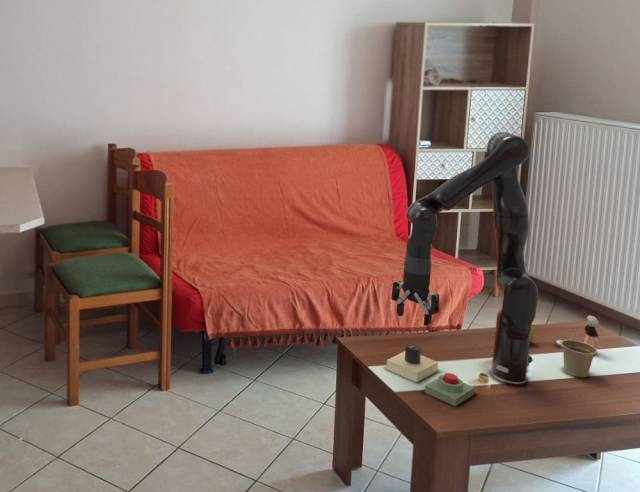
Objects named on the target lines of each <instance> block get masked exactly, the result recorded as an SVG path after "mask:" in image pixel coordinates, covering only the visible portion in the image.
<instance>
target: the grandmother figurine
mask: <svg viewBox="0 0 640 492" xmlns="http://www.w3.org/2000/svg"><path fill="white" fill-rule="evenodd" d="M586 319H587V320H586V325H585V327H584V330H583V334H585V337H584V342H583V343H586V344H589V345H591V346H593V347H594V348H595V343H599V341H600V340H599V337H600V335H599V334H598V331H597V329H596V326H597V325H599V324H600V322H599V320H598V318H597V317H595V316H593V315H588V316H587V317H586Z"/></svg>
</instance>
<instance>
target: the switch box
mask: <svg viewBox="0 0 640 492" xmlns="http://www.w3.org/2000/svg"><path fill="white" fill-rule="evenodd" d="M475 388H476V387H475V386H473V385H470V384H467V383H465V382H463V380H461V379H460V378H458V381H457V384H449V383H446V382H444V374H441V375H439V376H438V377H437V378H436V379H434V380H433V381H431V382H429V383H427V384H426V385H425V386H424V393H425V394H427V395H429V396H431V397H434V398H436V399H438V400H440V401H443V402H445V403H447V404H448V405H451V406H453V407H457V406H458V405H460V404H462V403H463V402H465V401H466V400H468V399H469V398H471V397H473V396H474V395H475V391H476V390H475Z"/></svg>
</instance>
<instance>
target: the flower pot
mask: <svg viewBox="0 0 640 492" xmlns="http://www.w3.org/2000/svg"><path fill="white" fill-rule="evenodd" d="M560 345H561V349H562V352H563V354H562V355H563V370H564V372H565V373H567V374H568V375H570V376H573V377H579V378H587V377H588V376H589V373H590V369H591V366H592V362H593V359H594V358H595V356H596V354H597V353H598V350H597V348H596V347H595V346H594V347H593V346H591V345H589V344H586V343H584V342H583V341H579V340H575V339H564V340H561V342H560Z"/></svg>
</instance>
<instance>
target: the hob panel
mask: <svg viewBox="0 0 640 492" xmlns="http://www.w3.org/2000/svg"><path fill="white" fill-rule="evenodd" d="M438 365H439V362H438V361H437V360H435V359H432V358H429V357H426V356H424V355H422V354H421V357H420V363H419V364H411V363H408V362H406V361H405V350H404V351H402V352H400V353H398V354H396V355H394V356H392V357H390V358H388V359H387V360H386V368H385V369H386V370H387V371H390V372H393V373H395V374H396V375H398V376H401V377H403V378H405V379H408V380H410V381H413V382H414V383H418V382H420V381H422V380H424V379H425V378H427V377H429V376H431V375H433V374H435V373H436V372H438Z"/></svg>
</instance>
